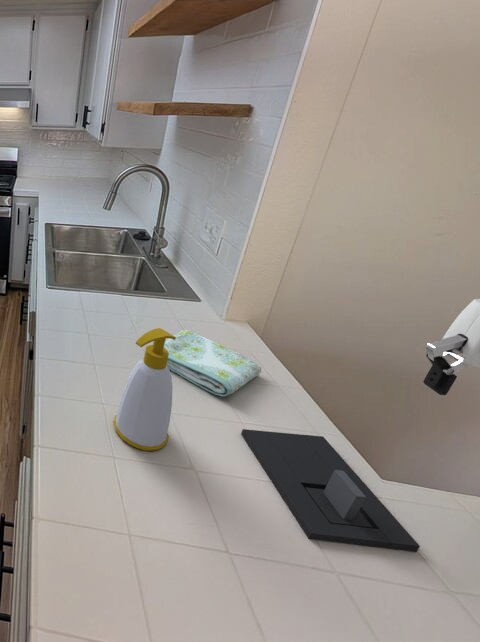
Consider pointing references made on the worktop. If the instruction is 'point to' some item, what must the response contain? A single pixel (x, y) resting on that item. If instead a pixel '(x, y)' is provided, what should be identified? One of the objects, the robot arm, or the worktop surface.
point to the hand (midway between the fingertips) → (467, 391)
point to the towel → (209, 363)
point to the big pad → (315, 472)
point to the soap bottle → (147, 396)
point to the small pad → (340, 501)
